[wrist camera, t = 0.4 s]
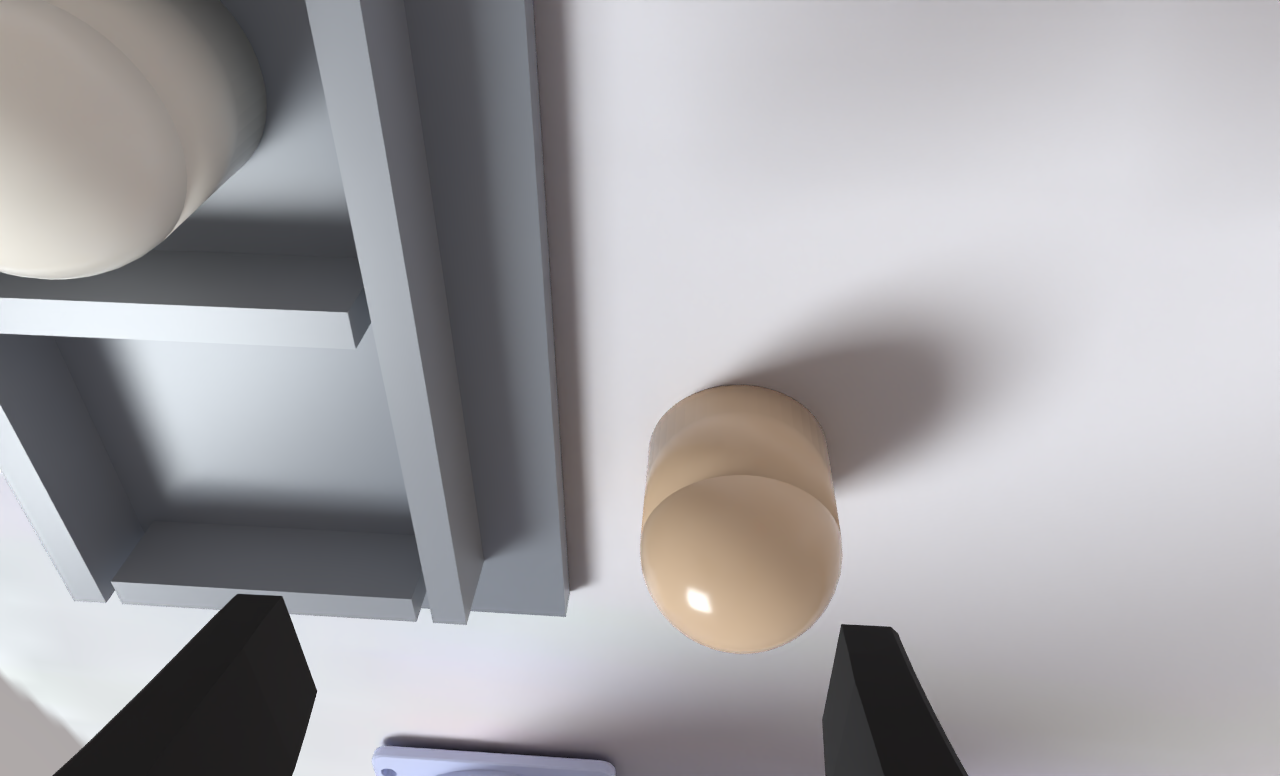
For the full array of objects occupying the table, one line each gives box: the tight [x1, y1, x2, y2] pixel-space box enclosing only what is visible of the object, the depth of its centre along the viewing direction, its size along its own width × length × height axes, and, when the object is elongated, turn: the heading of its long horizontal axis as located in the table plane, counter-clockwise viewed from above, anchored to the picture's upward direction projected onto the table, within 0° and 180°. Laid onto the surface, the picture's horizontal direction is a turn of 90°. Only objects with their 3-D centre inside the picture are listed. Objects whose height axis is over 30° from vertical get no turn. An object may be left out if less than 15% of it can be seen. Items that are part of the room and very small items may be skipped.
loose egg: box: [640, 385, 842, 654], centre depth 19 cm, size 4×4×5 cm
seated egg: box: [0, 0, 267, 280], centre depth 14 cm, size 4×4×5 cm
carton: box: [0, 0, 570, 625], centre depth 18 cm, size 20×14×3 cm, turn 0°
